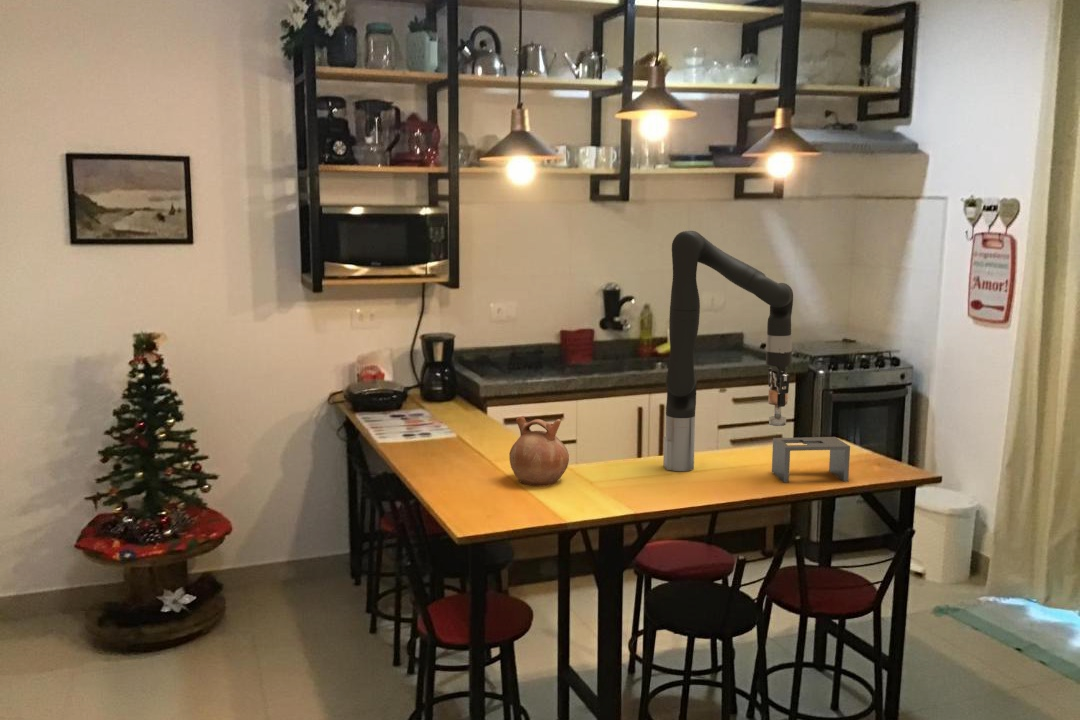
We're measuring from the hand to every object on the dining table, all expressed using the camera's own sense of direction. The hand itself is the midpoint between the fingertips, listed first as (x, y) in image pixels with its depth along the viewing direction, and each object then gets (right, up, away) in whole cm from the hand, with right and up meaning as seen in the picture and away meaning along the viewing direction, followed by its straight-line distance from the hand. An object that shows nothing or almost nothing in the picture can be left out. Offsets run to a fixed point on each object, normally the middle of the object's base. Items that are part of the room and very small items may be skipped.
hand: (778, 404), depth 294 cm
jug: (-73, -24, +1) cm, 77 cm away
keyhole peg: (0, -6, +1) cm, 6 cm away
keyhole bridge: (+11, -23, +5) cm, 26 cm away
